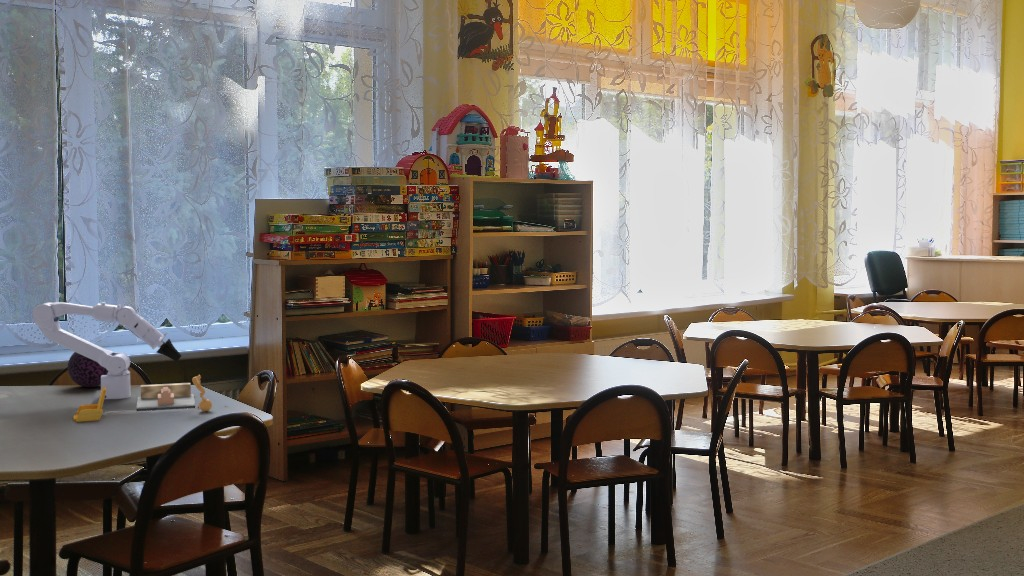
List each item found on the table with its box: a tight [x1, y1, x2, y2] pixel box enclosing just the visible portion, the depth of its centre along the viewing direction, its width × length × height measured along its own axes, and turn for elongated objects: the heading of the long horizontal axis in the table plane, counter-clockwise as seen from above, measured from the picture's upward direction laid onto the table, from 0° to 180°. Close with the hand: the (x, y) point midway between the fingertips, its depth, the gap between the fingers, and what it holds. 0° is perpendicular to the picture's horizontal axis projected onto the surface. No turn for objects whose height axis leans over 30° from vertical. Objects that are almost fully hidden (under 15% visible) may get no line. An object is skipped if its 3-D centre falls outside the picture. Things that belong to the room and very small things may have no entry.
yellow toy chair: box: [73, 387, 106, 423], centre depth 316 cm, size 10×10×9 cm
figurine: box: [191, 374, 213, 413], centre depth 326 cm, size 8×6×12 cm
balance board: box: [135, 387, 196, 412], centre depth 339 cm, size 18×20×6 cm
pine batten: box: [140, 382, 192, 398], centre depth 346 cm, size 16×3×4 cm, turn 109°
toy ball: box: [67, 351, 108, 388], centre depth 371 cm, size 15×15×15 cm
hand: (179, 358), depth 348 cm, fingers open, 7 cm apart
